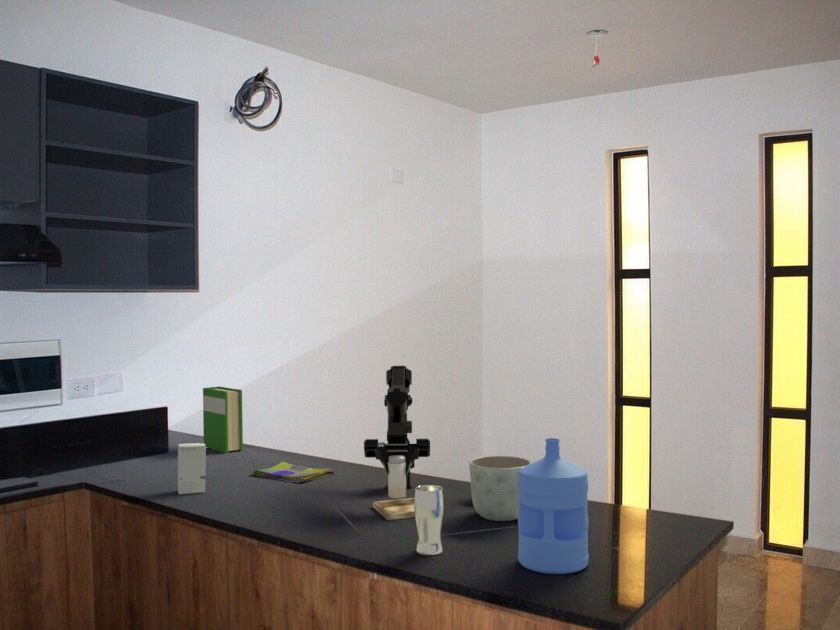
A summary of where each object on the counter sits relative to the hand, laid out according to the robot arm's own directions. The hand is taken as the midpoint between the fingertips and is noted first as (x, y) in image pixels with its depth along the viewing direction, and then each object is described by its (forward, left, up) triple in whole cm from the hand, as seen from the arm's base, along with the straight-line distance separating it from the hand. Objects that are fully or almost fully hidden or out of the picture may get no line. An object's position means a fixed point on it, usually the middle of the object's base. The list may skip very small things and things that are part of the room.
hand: (396, 473), depth 223 cm
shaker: (0, -1, -7) cm, 7 cm away
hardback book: (+36, -114, -11) cm, 120 cm away
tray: (-2, 0, -11) cm, 11 cm away
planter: (-25, +14, -11) cm, 31 cm away
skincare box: (+52, -47, -11) cm, 71 cm away
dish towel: (+18, -59, -12) cm, 63 cm away
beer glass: (+3, +34, -11) cm, 36 cm away
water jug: (-20, +52, -11) cm, 57 cm away
